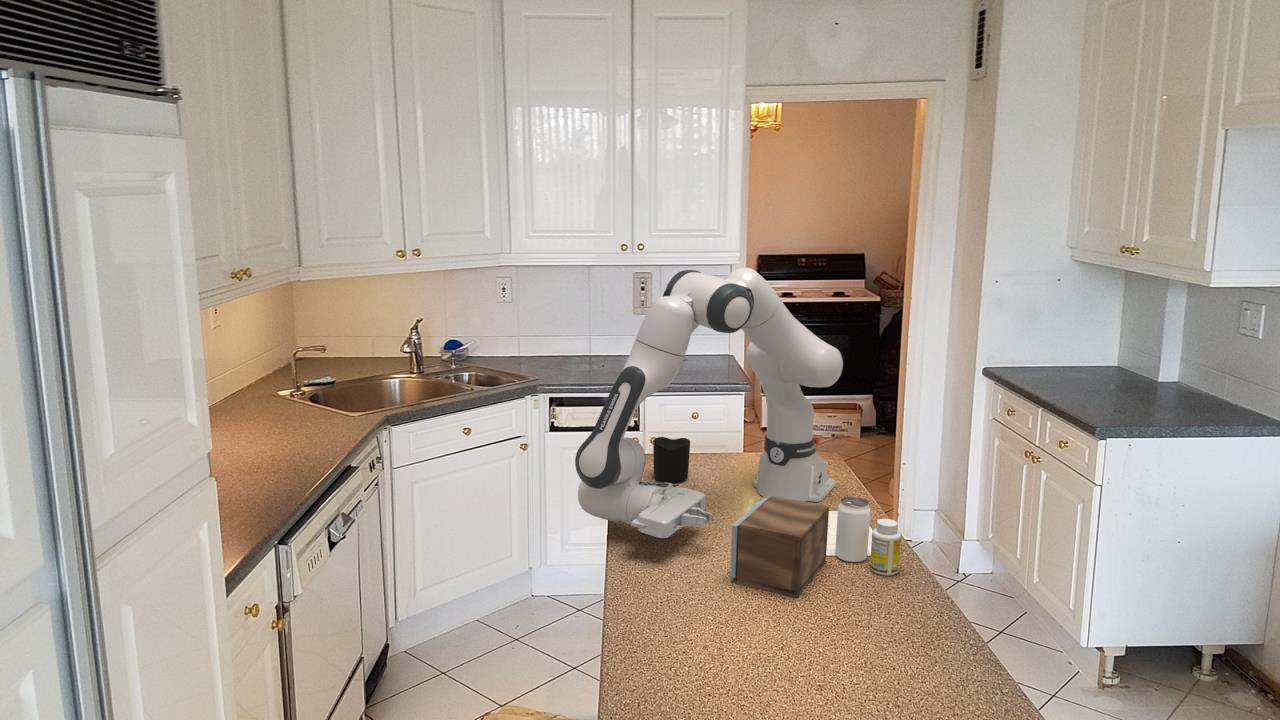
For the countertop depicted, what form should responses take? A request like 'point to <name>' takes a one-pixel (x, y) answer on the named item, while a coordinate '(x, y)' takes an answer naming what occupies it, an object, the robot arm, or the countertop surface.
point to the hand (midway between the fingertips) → (708, 519)
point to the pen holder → (671, 459)
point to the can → (852, 529)
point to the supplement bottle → (885, 547)
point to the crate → (782, 545)
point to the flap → (736, 538)
